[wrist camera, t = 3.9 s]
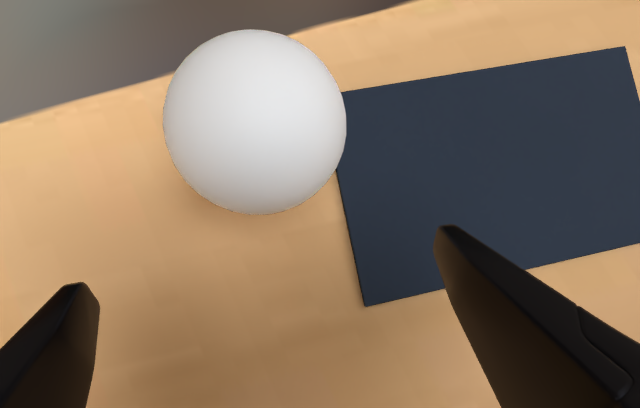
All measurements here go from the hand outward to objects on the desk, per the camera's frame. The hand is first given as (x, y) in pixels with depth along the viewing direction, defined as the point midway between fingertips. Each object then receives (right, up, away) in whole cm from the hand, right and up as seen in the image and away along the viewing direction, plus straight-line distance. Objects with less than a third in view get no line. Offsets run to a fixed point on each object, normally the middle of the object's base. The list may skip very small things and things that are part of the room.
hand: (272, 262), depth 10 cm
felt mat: (+12, +4, +13) cm, 18 cm away
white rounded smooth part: (-2, +4, +11) cm, 12 cm away
